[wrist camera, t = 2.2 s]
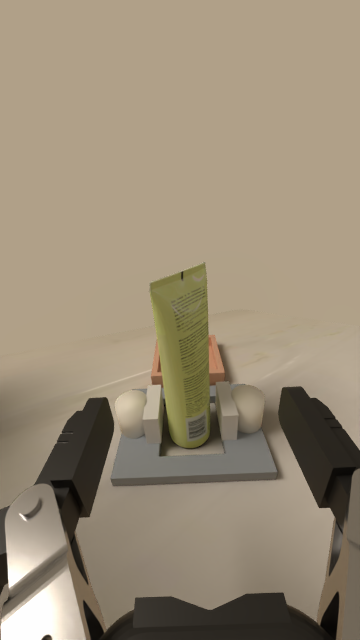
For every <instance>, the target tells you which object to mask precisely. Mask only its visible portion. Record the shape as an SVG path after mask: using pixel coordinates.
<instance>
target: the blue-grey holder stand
mask: <svg viewBox="0 0 360 640" xmlns="http://www.w3.org/2000/svg"><path fill="white" fill-rule="evenodd" d="M210 403H215V405H216V411H217V416H218V422H219V427H220V433H221V438H222V442H223V448H224V453H225V454H209V455H185V456H162V457H160V452H161V442H162V428H163V413H164V405H166V401H165V394H164V388H161V385H148V388H147V389H132V390H131V391H127V392H125V393H123V394H121V395H120V396H119V397H118V398H117V400H116V402H115V410H116V413H117V417H118V421H119V425H120V429H121V432H122V434H121V438H120V442H119V446H118V450H117V454H116V458H115V463H114V467H113V471H112V475H111V482H112V485H113V486H123V485H148V484H173V483H197V482H222V481H247V480H272V479H276V477H277V469H276V466H275V464H274V461H273V458H272V455H271V453H270V450H269V447H268V445H267V442H266V439H265V436H264V434H263V431H262V428H261V425H262V418H263V411H264V404H265V396H264V394H263V392H262V391H261V390H259V389H258V388H256V387H254V386H251V385H245V384H233V385H230V383H229V381H225V382H216V385H213V386H210Z"/></svg>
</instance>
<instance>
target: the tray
mask: <svg viewBox="0 0 360 640" xmlns="http://www.w3.org/2000/svg"><path fill="white" fill-rule="evenodd" d="M208 338H209V381H210V386H213V385H216V382H224V381H225V371H224V368H223V364H222V360H221V357H220V353H219V349H218V346H217V342H216V338H215V335H208ZM151 379H152V385H161V388H164V386H163V378H162V371H161V363H160V355H159V348H158V341H157V342H156V348H155V354H154V361H153V367H152V374H151Z"/></svg>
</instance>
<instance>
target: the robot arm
mask: <svg viewBox="0 0 360 640" xmlns="http://www.w3.org/2000/svg"><path fill="white" fill-rule="evenodd" d="M278 415H279V421H280V425H281V427H282V429H283V431H284V434H285V436H286V438H287V440H288V442H289V444H290V446H291V449H292V451H293V453H294V455H295V457H296V459H297V462H298V464H299V466H300V468H301V470H302V472H303V475H304V477H305V479H306V481H307V483H308V485H309V487H310V490H311V492H312V494H313V496H314V498H315V500H316V503H317V505H318V507H319V508H331V510H332V512H333V514H334V516H335V518H334V521H333V528H332V536H331V543H330V550H329V557H328V564H327V571H326V577H325V583H324V587H323V590H322V594H321V599H320V603H319V609H318V615H317V622H315V621H314V620H313V619H312V618H310V617H309V616H307V615H306V614H304V613H303V612H301V611H299V610H297V609H296V608H294V607H292V606H289V605H287V604H286V600H285V597H284V593H257V594H245V595H243V596H241V597H239V598H237V599H234V600H232V601H230V602H228V603H226V604H224V605H222V606H219V607H217V608H215V609H213V610H207V609H204V608H201V607H198V606H196V605H193V604H190V603H187V602H185V601H182V600H179V599H177V598H174V597H143V598H135V607H134V610H132V611H130V612H128V613H127V614H125V615H124V616H122V617H121V618H119V619H118V620H117V621H116V622H115V623H114V624H113V625H111V626H110V627H109V629H108V630H106V626H105V623H104V620H103V616H102V613H101V610H100V607H99V605H98V602H97V599H96V597H95V594H94V592H93V589H92V586H91V583H90V579H89V576H88V572H87V569H86V565H85V562H84V558H83V555H82V552H81V548H80V545H79V541H78V538H77V534H76V531H75V529H76V526H77V523H78V520H79V518H81V517H90V513H91V510H92V506H93V503H94V499H95V496H96V492H97V489H98V485H99V482H100V478H101V475H102V471H103V468H104V464H105V461H106V457H107V454H108V450H109V447H110V443H111V440H112V436H113V432H114V420H113V416H112V413H111V409H110V406H109V402H108V399H107V398H106V397H102V398H89V399H88V401H87V403H86V405H85V407H84V409H83V411H76V413H75V414H74V415H73V416H72V417H71V418H70V419H69V420H68V421H67V423H66V425H65V427H64V429H63V431H62V434H60V436H59V438H58V440H57V444H55V446H54V448H53V450H52V452H51V454H50V456H49V458H48V460H47V462H46V463H45V465H44V467H43V469H42V471H41V473H40V475H39V477H38V479H37V481H36V483H35V484H34V486H32V487H30V488H28V489H26V490H25V491H24V492H22V493H21V494H20V495H19V496H18V497H17V498H16V499H15V500H14V502H13V503H12V504H11V505H10V506H8V507H5V508H3V509H0V594H1V592H2V590H3V587H4V585H5V584H7V583H9V597H8V600H7V601H6V602H5V603H4V604H3V607H2V613H1V633H2V640H360V450H359V449H358V447H357V446H356V445H355V443H354V442H353V441H352V439H351V438H350V437H349V435H348V434H347V433H346V431H345V430H344V429H343V428H342V426H341V424H340V423H339V422H338V420H336V419H335V416H334V415H333V414H332V412H331V411H330V410H329V408H328V407H327V406H326V405H324V404H323V403H322V402H321V401H319V400H318V399H317V398H310V397H309V396H308V394H307V393H306V392H305V390H304V389H303V388H302V387H300V386H299V387H284V388H282V392H281V398H280V405H279V411H278Z"/></svg>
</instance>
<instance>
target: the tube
mask: <svg viewBox="0 0 360 640" xmlns="http://www.w3.org/2000/svg"><path fill="white" fill-rule="evenodd" d="M206 277H207V276H206V267H205V262H203V263H201V264H198V265H196V266H193V267H190V268H188V269H185V270H183V271H180V272H177V273H174V274H171V275H169V276H166V277H163V278H160V279H158V280H154V281H152V282H150V283H149V291H150V297H151V303H152V309H153V314H154V321H155V328H156V334H157V341H158V348H159V355H160V363H161V371H162V378H163V386H164V394H165V401H166V410H167V418H168V426H169V433H170V436H171V438H172V440H173V441H174V442H175V443H176V444H177V445H179V446H181V447H184V448H195V447H198V446H200V445H202V444H203V443H204V442H205V441H206V440H207V439H208V437H209V435H210V381H209V338H208V303H207V278H206Z"/></svg>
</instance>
